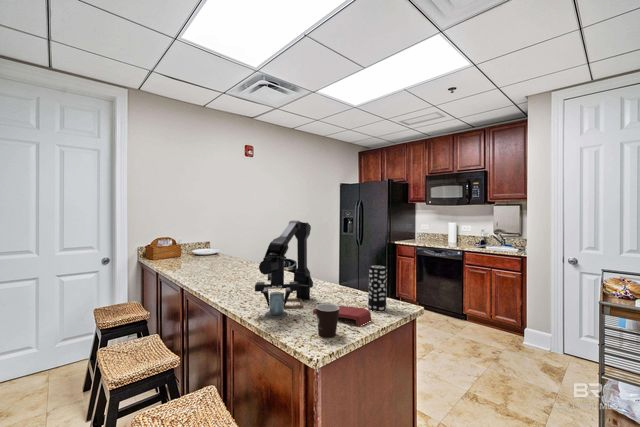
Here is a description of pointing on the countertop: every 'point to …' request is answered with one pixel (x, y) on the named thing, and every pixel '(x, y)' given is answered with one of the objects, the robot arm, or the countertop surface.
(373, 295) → the spotted tube
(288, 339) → the countertop surface
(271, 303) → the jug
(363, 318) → the carton
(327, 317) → the coffee mug
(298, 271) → the robot arm
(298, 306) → the brown wooden frame
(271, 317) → the coaster
